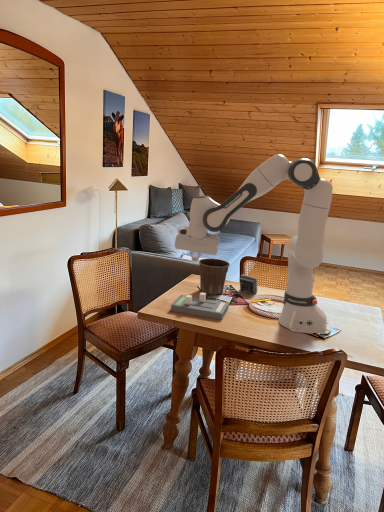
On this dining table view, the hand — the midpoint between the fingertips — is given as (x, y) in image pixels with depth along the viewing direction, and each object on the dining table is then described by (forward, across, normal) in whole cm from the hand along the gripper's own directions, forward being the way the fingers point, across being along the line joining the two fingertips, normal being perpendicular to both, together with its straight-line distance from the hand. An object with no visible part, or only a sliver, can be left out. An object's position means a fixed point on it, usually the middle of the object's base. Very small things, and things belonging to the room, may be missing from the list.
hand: (195, 261), depth 180 cm
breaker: (+19, 0, +4) cm, 20 cm away
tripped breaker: (+19, -5, -2) cm, 20 cm away
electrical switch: (+22, -22, -34) cm, 46 cm away
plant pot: (+23, -4, -26) cm, 34 cm away
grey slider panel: (+23, -5, +1) cm, 23 cm away
